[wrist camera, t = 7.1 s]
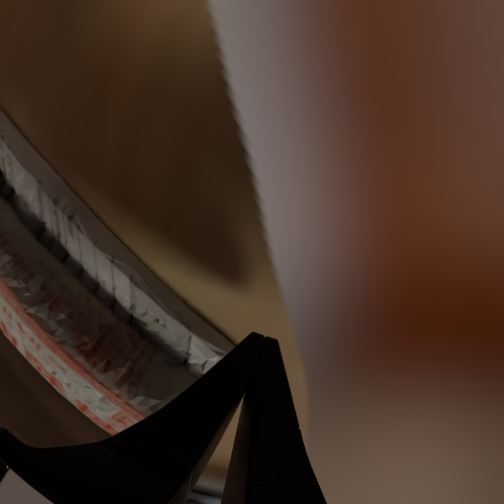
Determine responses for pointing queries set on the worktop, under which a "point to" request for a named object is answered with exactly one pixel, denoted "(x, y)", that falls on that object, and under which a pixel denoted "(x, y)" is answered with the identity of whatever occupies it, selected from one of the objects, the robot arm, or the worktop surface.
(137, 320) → the packaged product
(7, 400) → the brown piece
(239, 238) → the worktop surface
